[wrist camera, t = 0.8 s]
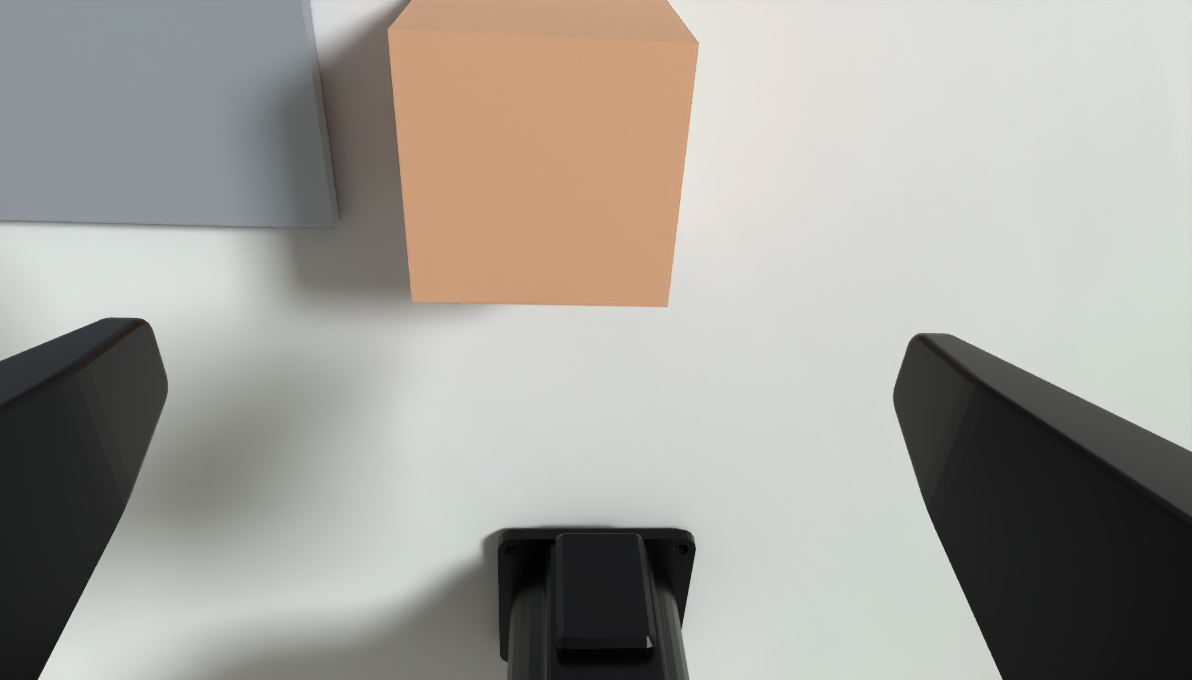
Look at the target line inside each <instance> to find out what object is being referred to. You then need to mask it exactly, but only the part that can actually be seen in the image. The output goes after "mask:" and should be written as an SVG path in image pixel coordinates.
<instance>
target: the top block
mask: <svg viewBox="0 0 1192 680" xmlns="http://www.w3.org/2000/svg"><path fill="white" fill-rule="evenodd" d="M387 31H388V42H389V53H390V64H391V76H392V87H393V98H394V109H395V120H396V131H397V143H398V154H399V165H400V176H401V187H402V199H403V210H404V221H405V232H406V243H407V254H408V266H409V277H410V288H411V299H412V302H416V303H472V304H527V305H583V306H639V307H667V306H668V298H669V289H670V281H671V272H672V264H673V256H674V247H675V239H676V231H677V222H678V214H679V206H680V197H681V189H682V181H683V172H684V164H685V155H686V147H687V139H688V130H689V122H690V114H691V105H692V97H693V89H694V80H695V72H696V63H697V55H698V47H699V43H698V41H697V40H696V39H695V37H694V36H693V35H692V33H691V32H690V31H689V29H688V28H687V27H686V25H685V24H684V23H683V21H682V20H681V19H680V17H679V16H678V14H677V13H676V12H675V10H674V9H673V8H672V6H671V5H670V4H669V2H668V1H667V0H412V1H411V2H410V3H409V4H408V5H407V7H406V8H405V9H404V10H403V11H402V13H401V14H400V15H399V16H398V17H397V19H396V20H395V21H394V22H393V23H392V25H391V26H390V27H389V28H388V29H387Z"/></svg>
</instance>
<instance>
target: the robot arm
mask: <svg viewBox="0 0 1192 680" xmlns="http://www.w3.org/2000/svg"><path fill="white" fill-rule="evenodd" d="M167 393H168V380H167V375H166V372H165V368H164V365H163V362H162V358H161V355H160V352H159V348H158V345H157V342H156V338H155V335H154V332H153V330H152V327H151V326H150V324H149V323H148V322H146V321H145V320H143V319H140V318H105V319H102V320H99V321H97V322H94V323H92V324H89V325H87V326H85V327H82V328H80V329H77V330H75V331H72V332H70V333H68V334H65V335H63V336H60V337H58V338H55V339H53V340H51V341H48V342H46V343H43V344H41V345H38V346H36V347H34V348H31V349H29V350H26V351H24V352H21V353H19V354H17V355H14V356H12V357H9V358H7V359H4V360H2V361H0V680H38V678H39V676H40V674H41V673H42V671H43V669H44V667H45V665H46V663H47V661H48V659H49V657H50V655H51V653H52V651H53V649H54V647H55V645H56V643H57V641H58V639H59V637H60V636H61V634H62V632H63V630H64V628H65V626H66V624H67V622H68V620H69V618H70V616H71V614H72V612H73V610H74V608H75V606H76V604H77V602H78V600H79V598H80V597H81V595H82V593H83V591H84V589H85V587H86V585H87V583H88V581H89V579H90V577H91V575H92V573H93V571H94V569H95V567H96V565H97V563H98V561H99V560H100V558H101V556H102V554H103V552H104V550H105V548H106V546H107V544H108V542H109V540H110V538H111V536H112V534H113V532H114V530H115V528H116V526H117V524H118V522H119V520H120V518H121V516H122V514H123V512H124V510H125V508H126V505H127V503H128V500H129V498H130V495H131V493H132V491H133V488H134V485H135V483H136V480H137V477H138V474H139V472H140V469H141V466H142V464H143V461H144V458H145V455H146V453H147V450H148V447H149V445H150V442H151V439H152V436H153V434H154V431H155V428H156V426H157V423H158V420H159V417H160V415H161V412H162V409H163V407H164V404H165V401H166V398H167ZM893 402H894V408H895V411H896V415H897V418H898V421H899V424H900V427H901V430H902V434H903V437H904V440H905V443H906V446H907V450H908V453H909V456H910V459H911V462H912V465H913V469H914V472H915V475H916V478H917V481H918V485H919V488H920V491H921V494H922V497H923V500H924V502H925V505H926V508H927V511H928V513H929V515H930V518H931V520H932V523H933V525H934V527H935V530H936V532H937V534H938V536H939V539H940V541H941V543H942V545H943V547H944V550H945V552H946V554H947V556H948V559H949V561H950V563H951V565H952V568H953V570H954V572H955V574H956V576H957V579H958V581H959V583H960V585H961V588H962V590H963V592H964V594H965V597H966V599H967V601H968V603H969V606H970V608H971V610H972V612H973V614H974V617H975V619H976V621H977V623H978V626H979V628H980V630H981V632H982V635H983V637H984V639H985V641H986V643H987V646H988V648H989V650H990V652H991V655H992V657H993V659H994V661H995V664H996V666H997V668H998V670H999V672H1000V675H1001V677H1002V679H1003V680H1192V452H1191V451H1189V450H1187V449H1185V448H1183V447H1181V446H1179V445H1177V444H1175V443H1173V442H1170V441H1168V440H1166V439H1164V438H1162V437H1160V436H1158V435H1156V434H1154V433H1152V432H1150V431H1148V430H1146V429H1144V428H1142V427H1140V426H1138V425H1136V424H1134V423H1131V422H1129V421H1127V420H1125V419H1123V418H1121V417H1119V416H1117V415H1115V414H1113V413H1111V412H1109V411H1107V410H1105V409H1103V408H1101V407H1099V406H1097V405H1095V404H1092V403H1090V402H1088V401H1086V400H1084V399H1082V398H1080V397H1078V396H1076V395H1074V394H1072V393H1070V392H1068V391H1066V390H1064V389H1062V388H1060V387H1058V386H1056V385H1053V384H1051V383H1049V382H1047V381H1045V380H1043V379H1041V378H1039V377H1037V376H1035V375H1033V374H1031V373H1029V372H1027V371H1025V370H1023V369H1021V368H1019V367H1017V366H1014V365H1012V364H1010V363H1008V362H1006V361H1004V360H1002V359H1000V358H998V357H996V356H994V355H992V354H990V353H988V352H986V351H984V350H982V349H980V348H978V347H975V346H973V345H971V344H969V343H967V342H965V341H963V340H961V339H959V338H957V337H955V336H953V335H950V334H945V333H919V334H917V335H915V336H914V337H912V339H911V340H910V342H909V344H908V346H907V350H906V353H905V356H904V359H903V362H902V365H901V368H900V371H899V374H898V377H897V380H896V384H895V387H894V393H893ZM679 544H683V545H679ZM510 545H517V546H510ZM678 545H679V546H678ZM695 551H696V547H695V541H694V536H693V535H692V534H691V533H690V532H688V531H686V530H510V531H506V532H504V533H502V534H501V536H500V537H499V540H498V583H499V627H500V656H501V658H502V659H503V660H504V661H506V662H508V671H507V680H689V674H688V668H687V662H686V656H685V650H684V645H683V639H682V633H681V629H682V624H683V618H684V613H685V607H686V601H687V596H688V590H689V585H690V579H691V573H692V568H693V562H694V557H695Z"/></svg>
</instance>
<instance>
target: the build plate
mask: <svg viewBox="0 0 1192 680" xmlns="http://www.w3.org/2000/svg"><path fill="white" fill-rule="evenodd" d="M339 219H340V218H339V210H338V203H337V196H336V189H335V181H334V174H333V167H332V160H331V152H330V145H329V138H328V130H327V123H326V116H325V109H324V101H323V94H322V87H321V80H320V72H319V65H318V58H317V51H316V43H315V36H314V29H313V22H312V14H311V7H310V0H0V220H19V221H57V222H95V223H133V224H171V225H209V226H247V227H285V228H323V229H334V228H335V226H336V224H337V222H338V221H339Z"/></svg>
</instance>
